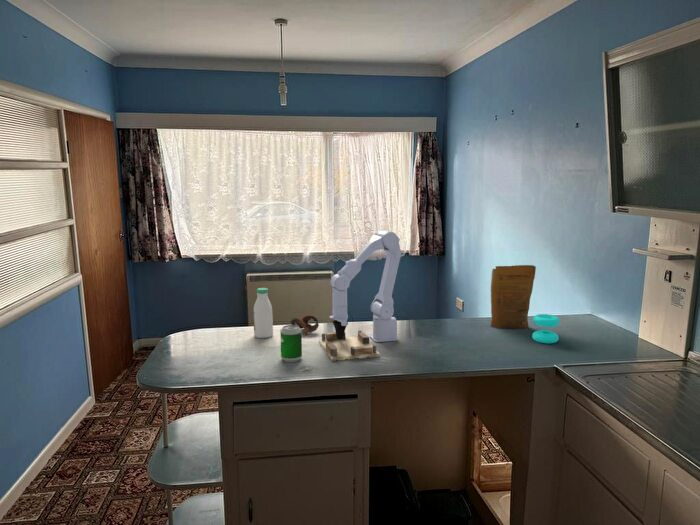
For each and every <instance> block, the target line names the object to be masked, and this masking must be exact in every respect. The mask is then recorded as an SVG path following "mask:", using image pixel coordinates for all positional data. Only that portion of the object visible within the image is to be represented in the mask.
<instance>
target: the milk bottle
mask: <svg viewBox="0 0 700 525" xmlns="http://www.w3.org/2000/svg"><path fill="white" fill-rule="evenodd" d="M256 294H257V298H256V300H255V302H254V305H253V336H254V338H258V339H267V338H271V337H273V335H274V326H273V324H274V322H273V318H274V317H273V306H272V303H271V301H270V299H269V296H268V294H269V289H268V287H259V288H257V289H256Z"/></svg>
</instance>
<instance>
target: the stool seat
mask: <svg viewBox="0 0 700 525" xmlns="http://www.w3.org/2000/svg"><path fill="white" fill-rule="evenodd" d="M345 338H346V339H336V340H326V332H325V333H321V339H318V342H319V344H320V346H321V345H322V346H321V347H322V349H323V350H324V352H325V354H326V356H328V358H329V359H330V361H331V362H335V361H336V360H338V361H346V360H345V359H348V360H355V359H354V358H359V359H367V357H370V358H378V357H380V354H381V353H380V352H379V351H378V350H377V345H376V344H371V343H370V336H368V335H367V334H366V333H365V332H364V331H362V330H358V332H357V335H354V336H345Z"/></svg>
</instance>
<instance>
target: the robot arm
mask: <svg viewBox="0 0 700 525" xmlns="http://www.w3.org/2000/svg"><path fill="white" fill-rule="evenodd" d="M400 240H401V239H400V238H399V236H398V235H397V234H396V233H395V232H394V231H387V230H383V229H378V230H377V231H376V232H375V233H374V234H373V235H371V237H370V239H369V241H368V242H367V243H366V245H364V247H362V250H361V251H360V252H359V253H358V254H357V256H356V257H355V258H351V259H349V260H346V261H345V265H344V266H343V267H342V268H341V269H340V270H338V271H337V273H336V274H334V275H333V276H331V280H330V281H329V284H330V286H331V288H332V296H331V297H332V315H330V316H329V319H330V320H331V322H332V325H333V327H334V332H336V336H337V339H343V337H344V332H345V333H346V329H347V326H348V325H349V323H348V319H349V315H348V289H349V288H350V286H351V281H352V280H353V279H354V278H355V277H356V276H357V275H358V274H359V272H360V271H362V264H364V263H365V262H366V261H367V259H369V257H371V256H372V254H374V252H375V251H379V250H383V252H384V253H385V254H386V259H385V262H384V268H383V271H382V276H381V280H380V286H379V289H378V292H377V294H375V295H374V299H373V301H372V302H371V304H370V311H371V312H372V314H373V316H372V334H371V335H369V338H370V339H371V340H373V341H374V343H380V342H381V343H383V342H394V341H395V342H396V341H398V322H397V318H396V317H395V316H393V315H394V313H395V310H394V299H393V296H392V295H393V292H394V289H395V288H394V286H395V284H396V278H397V275H398V274H397V273H398V269H399V264H400V261H401V257H402V250H401V246H400Z"/></svg>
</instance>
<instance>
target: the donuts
mask: <svg viewBox="0 0 700 525" xmlns="http://www.w3.org/2000/svg"><path fill="white" fill-rule="evenodd" d="M532 320H533V322H534V324H535V325H537V326H539V327H544V328H545V327H546V328H554V327H556V326H559V325H560V323H561V320H560V318H559V317H558V316H556V315H552V314H546V313H540V314H539V313H538V314H536V315H534V316H533V318H532ZM531 338H532V339H533V340H534V341H535V342H537V343H542V344H556V343H557V342H558V341H559V340H560V338H559V335H558V334H557V333H556V332H554V331H552V330H549V329H547V330H546V329H538V330H535V331H534V332H533V333H532V336H531Z"/></svg>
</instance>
